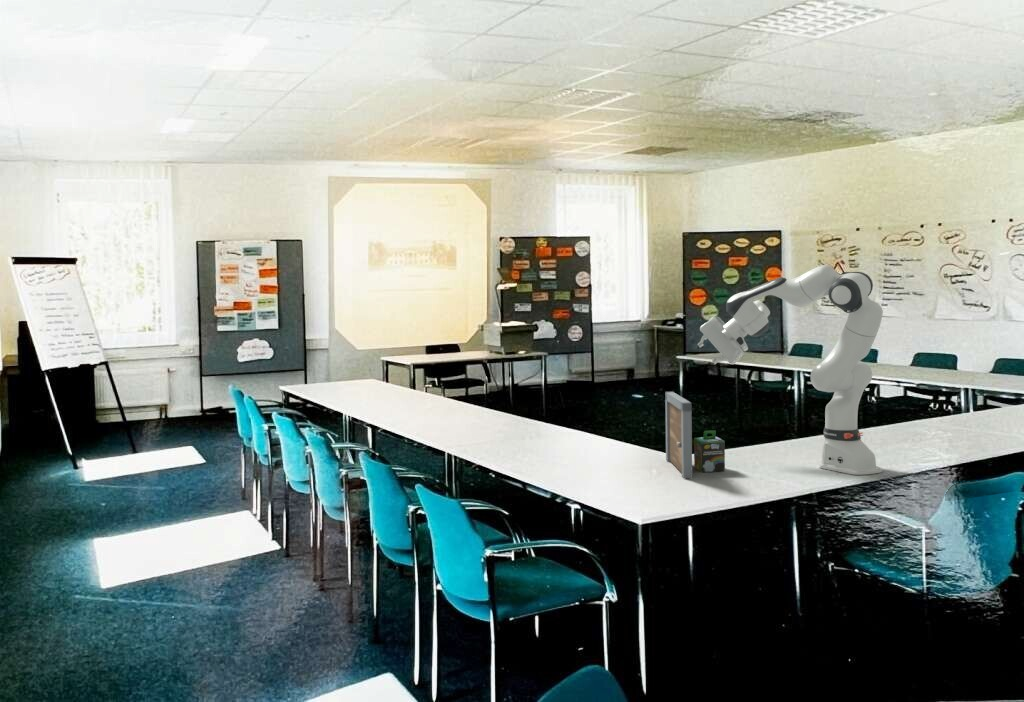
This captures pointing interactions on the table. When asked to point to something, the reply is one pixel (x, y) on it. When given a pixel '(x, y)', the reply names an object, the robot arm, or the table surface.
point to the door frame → (685, 430)
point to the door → (675, 437)
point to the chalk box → (709, 453)
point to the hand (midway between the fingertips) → (706, 354)
